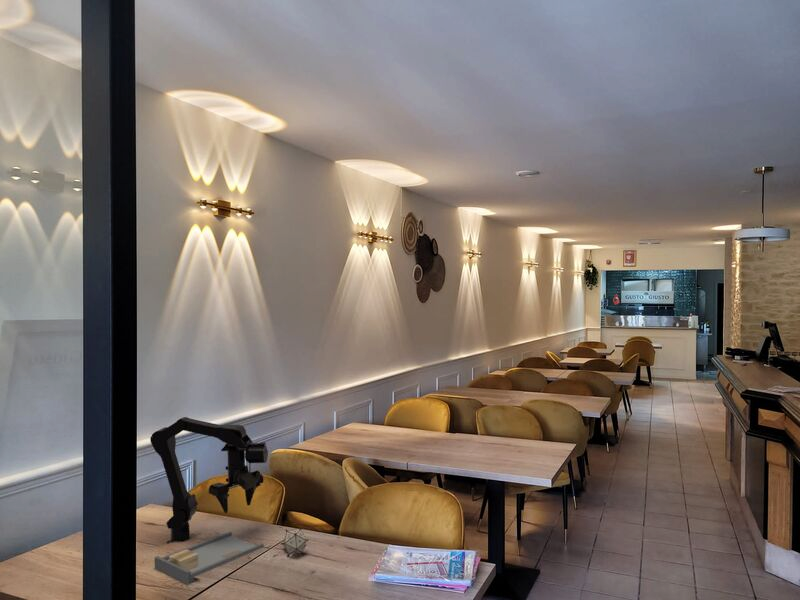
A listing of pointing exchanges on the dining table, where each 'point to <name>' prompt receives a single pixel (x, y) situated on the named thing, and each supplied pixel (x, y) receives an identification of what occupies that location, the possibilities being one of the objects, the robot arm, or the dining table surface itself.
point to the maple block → (185, 559)
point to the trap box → (207, 556)
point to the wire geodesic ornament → (294, 542)
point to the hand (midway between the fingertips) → (237, 509)
